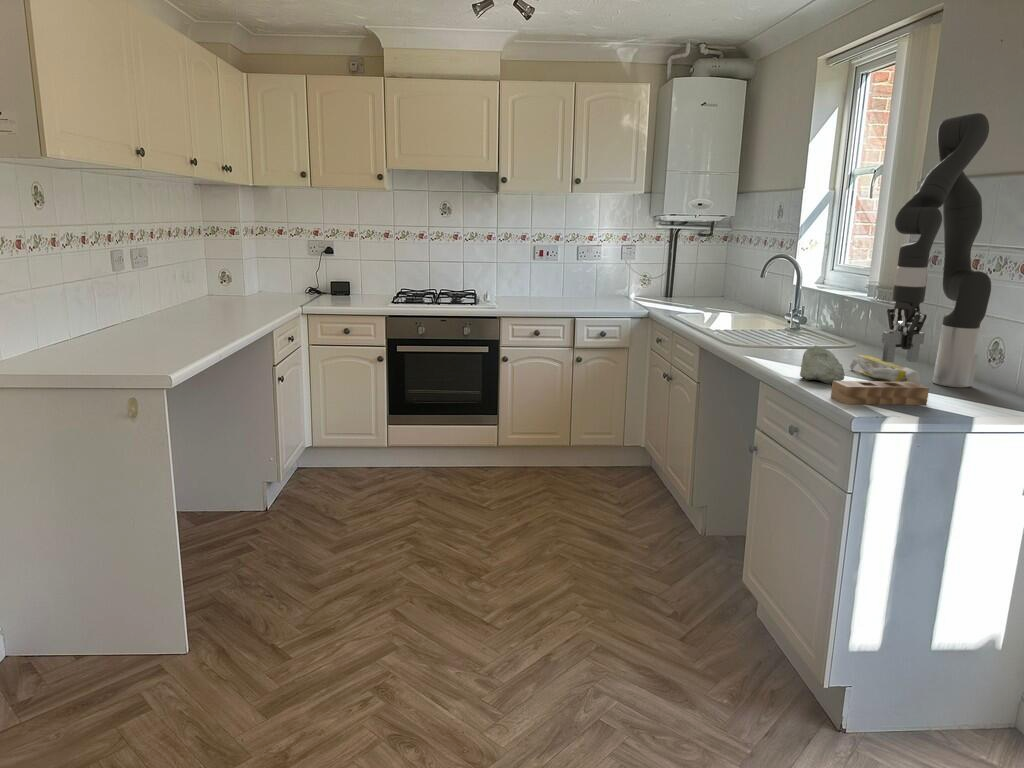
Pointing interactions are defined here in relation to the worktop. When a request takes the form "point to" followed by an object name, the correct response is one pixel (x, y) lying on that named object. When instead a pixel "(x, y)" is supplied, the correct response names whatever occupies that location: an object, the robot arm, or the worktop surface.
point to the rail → (879, 392)
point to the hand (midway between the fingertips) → (901, 347)
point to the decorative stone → (821, 366)
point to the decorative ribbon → (886, 371)
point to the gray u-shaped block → (897, 338)
